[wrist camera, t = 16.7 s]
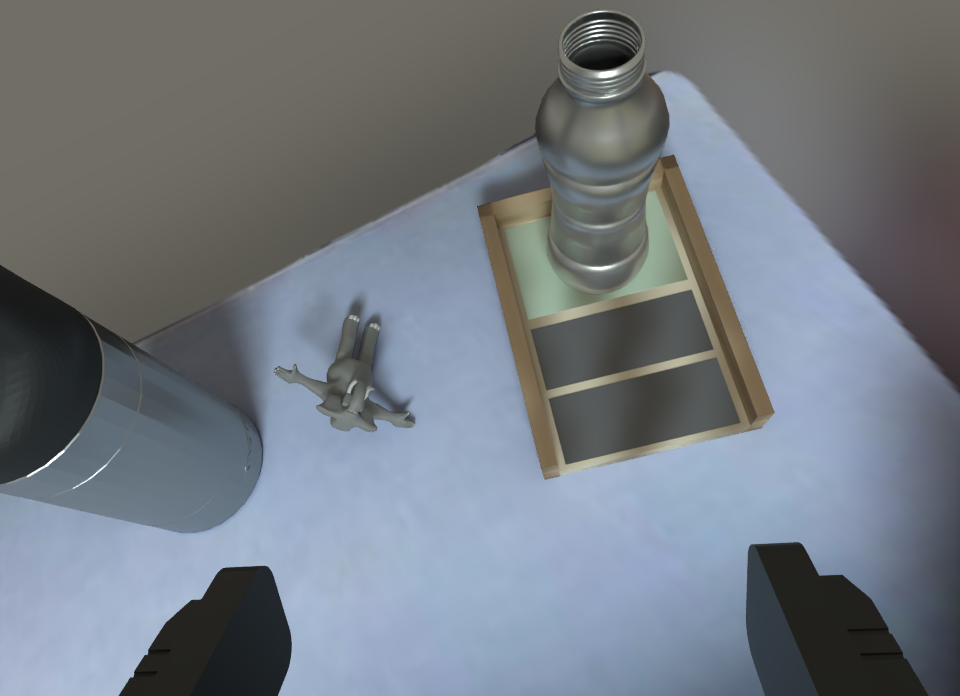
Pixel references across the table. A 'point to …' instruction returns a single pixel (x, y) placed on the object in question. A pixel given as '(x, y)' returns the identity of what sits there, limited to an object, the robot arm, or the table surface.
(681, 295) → the box
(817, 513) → the table surface
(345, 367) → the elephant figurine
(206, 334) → the table surface
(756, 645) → the robot arm
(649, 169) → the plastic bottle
